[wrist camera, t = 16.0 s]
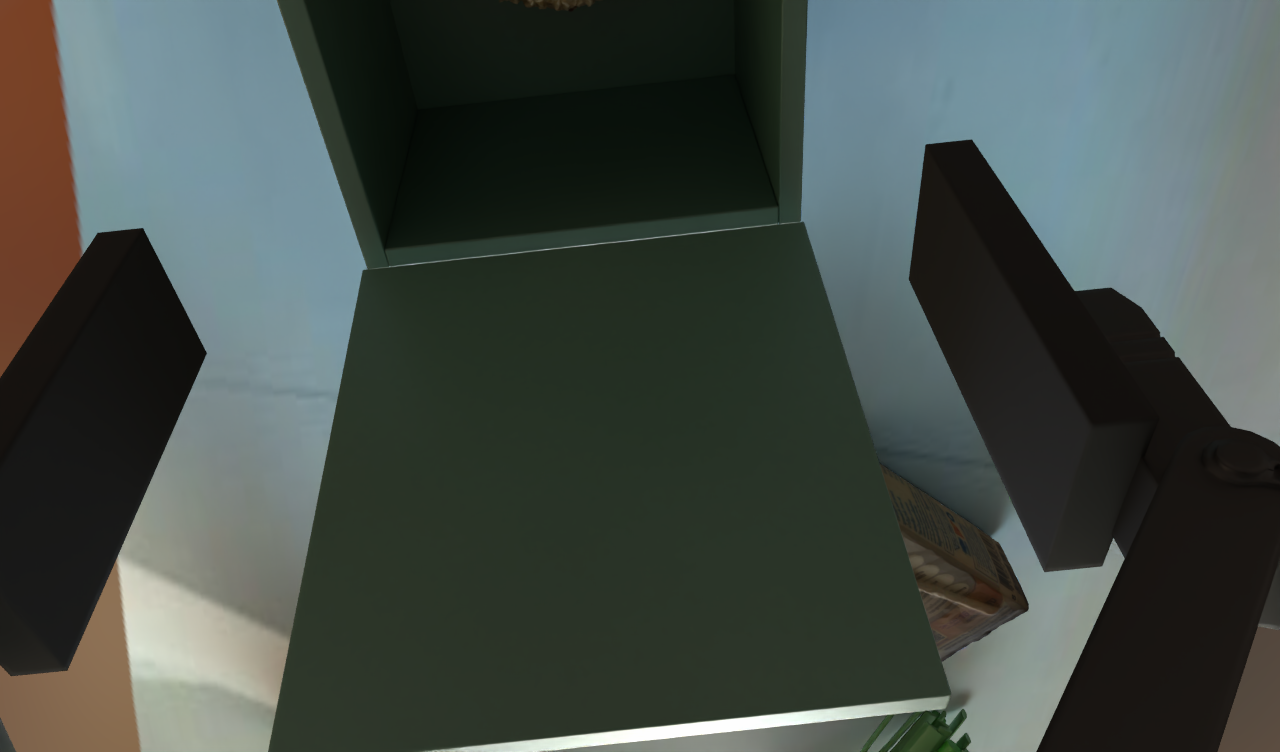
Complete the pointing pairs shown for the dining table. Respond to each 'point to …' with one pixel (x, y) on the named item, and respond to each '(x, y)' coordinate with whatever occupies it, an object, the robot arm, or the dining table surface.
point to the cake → (555, 4)
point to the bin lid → (600, 510)
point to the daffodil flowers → (924, 734)
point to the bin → (554, 120)
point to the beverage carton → (954, 569)
